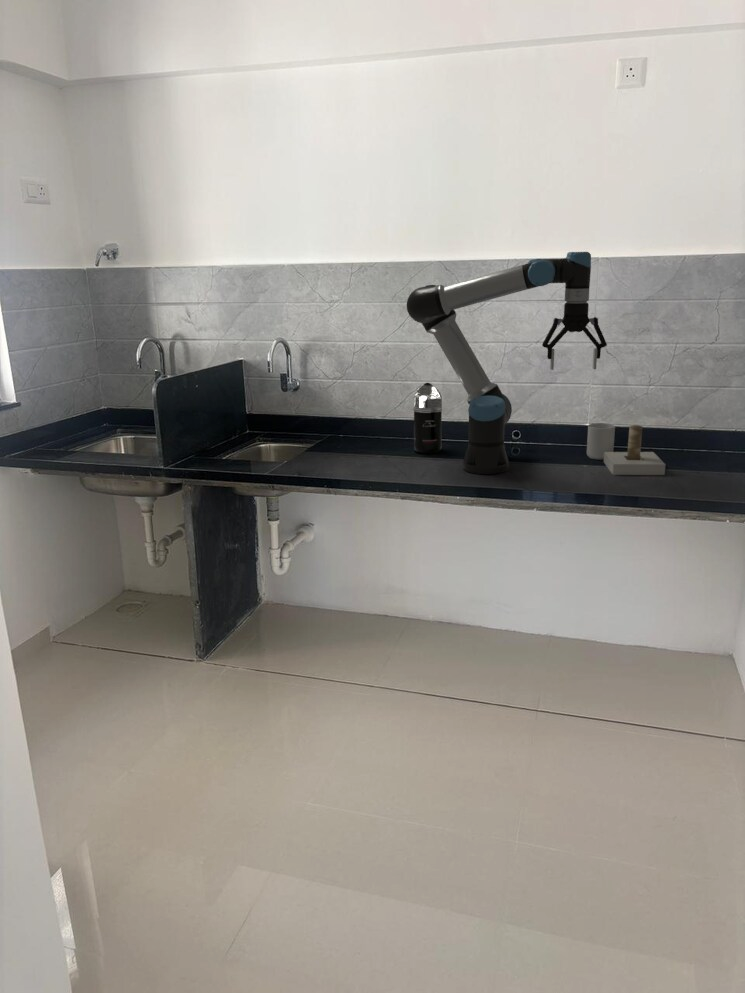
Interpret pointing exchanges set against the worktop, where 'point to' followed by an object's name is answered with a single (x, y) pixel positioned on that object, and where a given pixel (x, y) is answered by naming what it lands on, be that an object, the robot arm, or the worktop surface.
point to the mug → (600, 440)
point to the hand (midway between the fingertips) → (573, 369)
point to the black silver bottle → (427, 419)
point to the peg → (634, 442)
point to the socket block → (634, 464)
